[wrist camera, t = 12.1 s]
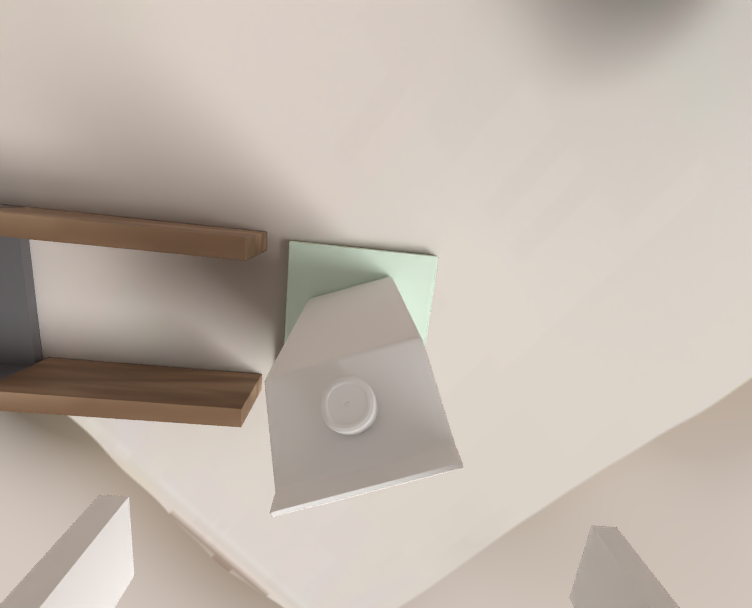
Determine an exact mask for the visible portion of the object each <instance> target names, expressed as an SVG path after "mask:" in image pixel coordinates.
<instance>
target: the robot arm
mask: <svg viewBox="0 0 752 608" xmlns="http://www.w3.org/2000/svg"><path fill="white" fill-rule="evenodd" d="M133 577H134V565H133V550H132V537H131V521H130V507H129V497H128V496H112V495H99V496H98V497H97V498H96V499H95V500H94V501H93V503H92V504H91V505H90V506H89V507H88V508H87V509H86V510H85V511H84V512H83V514H82V515H81V516H80V517H79V518H78V519H77V520H76V522H75V523H73V525H72V526H71V527H70V528H69V529H68V530H67V531H66V532H65V534H63V536H62V537H61V538H60V539H59V540H58V541H57V542H56V543H55V544H54V545H53V547H52V548H51V549H50V550H49V551H48V552H47V553H46V554H45V556H44V557H43V558H42V559H41V560H40V561H39V562H38V563H37V564H36V565H35V566H34V568H33V569H32V570H31V571H30V572H29V573H28V574H27V575H26V576H25V577H24V579H23V580H22V581H21V582H20V583H19V584H18V585H17V586H16V587H15V588H14V590H13V591H12V592H11V593H10V594H9V595H8V596H7V597H6V598H5V599H4V601H3V602H2V603H1V604H0V608H115V606H116V604H117V603H118V601H119V600H120V598H121V596H122V595H123V593H124V591H125V590H126V588H127V586H128V585H129V583H130V582H131V580H132V578H133ZM570 600H571V602H572V604H573V606H574V608H679V606H678V605H677V604H676V602H675V601H674V600H673V599H672V597H671V596H670V595H669V594H668V592H667V591H666V590H665V588H664V587H663V586H662V585H661V583H660V582H659V581H658V580H657V578H656V577H655V576H654V574H653V573H652V572H651V571H650V569H649V568H648V567H647V565H646V564H645V563H644V562H643V560H642V559H641V558H640V557H639V555H638V554H637V553H636V552H635V550H634V549H633V548H632V546H631V545H630V544H629V543H628V541H627V540H626V539H625V537H624V536H623V535H622V534H621V532H620V531H619V530H618V528H617V527H605V526H591V529H590V532H589V535H588V539H587V542H586V545H585V548H584V552H583V555H582V558H581V562H580V565H579V568H578V571H577V574H576V578H575V581H574V584H573V587H572V591H571V594H570Z"/></svg>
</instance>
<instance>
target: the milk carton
mask: <svg viewBox="0 0 752 608" xmlns="http://www.w3.org/2000/svg"><path fill="white" fill-rule="evenodd" d="M265 392H266V402H267V412H268V422H269V432H270V442H271V452H272V462H273V472H274V482H275V492H276V493H275V496H274V499H273V503H272V506H271V510H270V515H271V517H276V516H280V515H283V514H287V513H291V512H295V511H299V510H303V509H306V508H310V507H315V506H320V505H323V504H327V503H331V502H335V501H339V500H343V499H347V498H350V497H354V496H358V495H362V494H366V493H369V492H373V491H377V490H381V489H385V488H389V487H392V486H396V485H400V484H404V483H408V482H412V481H415V480H419V479H423V478H427V477H431V476H434V475H438V474H442V473H446V472H449V471H453V470H455V469H459V468H463V463H462V460H461V458H460V455H459V453H458V451H457V448H456V446H455V443H454V439H453V436H452V433H451V430H450V426H449V423H448V420H447V417H446V413H445V410H444V407H443V404H442V401H441V397H440V394H439V391H438V388H437V384H436V381H435V378H434V375H433V371H432V368H431V365H430V362H429V358H428V355H427V352H426V349H425V346H424V342H423V339H422V337H421V335H420V333H419V331H418V329H417V327H416V325H415V323H414V321H413V319H412V317H411V315H410V313H409V311H408V308H407V306H406V304H405V302H404V300H403V298H402V296H401V294H400V292H399V290H398V288H397V286H396V284H395V282H394V280H393V278H392V277H386V278H382V279H379V280H375V281H371V282H368V283H364V284H360V285H357V286H353V287H349V288H346V289H342V290H339V291H335V292H331V293H328V294H324V295H320V296H317V297H313V298H311V299H309V300H308V302H307V304H306V305H305V307H304V309H303V311H302V313H301V315H300V316H299V318H298V320H297V322H296V324H295V326H294V327H293V329H292V331H291V333H290V335H289V337H288V338H287V340H286V342H285V344H284V346H283V348H282V349H281V351H280V353H279V355H278V357H277V359H276V360H275V362H274V364H273V366H272V368H271V370H270V371H269V373H268V375H267V377H266V380H265Z"/></svg>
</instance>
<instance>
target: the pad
mask: <svg viewBox="0 0 752 608" xmlns="http://www.w3.org/2000/svg"><path fill="white" fill-rule="evenodd" d="M438 258H439V257H438V256H435V255H425V254H416V253H406V252H396V251H386V250H377V249H367V248H357V247H348V246H338V245H328V244H318V243H309V242H299V241H290V242H289V260H288V280H287V299H286V319H285V339H284V344H285V342H286V340H287V338H288V337H289V335H290V333H291V331H292V329H293V327H294V326H295V324H296V322H297V320H298V318H299V316H300V315H301V313H302V311H303V309H304V307H305V305H306V304H307V302H308V300H309V299H311V298H313V297H317V296H320V295H324V294H328V293H331V292H335V291H339V290H342V289H346V288H349V287H353V286H357V285H360V284H364V283H368V282H371V281H375V280H379V279H382V278H386V277H392V278H393V280H394V282H395V284H396V286H397V288H398V290H399V292H400V294H401V296H402V298H403V300H404V302H405V304H406V306H407V308H408V311H409V313H410V315H411V317H412V319H413V321H414V323H415V325H416V327H417V329H418V331H419V333H420V335H421V337H422V339H423V342H424V346H426V340H427V333H428V326H429V319H430V312H431V306H432V299H433V292H434V285H435V278H436V272H437V265H438Z"/></svg>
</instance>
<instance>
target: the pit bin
mask: <svg viewBox="0 0 752 608" xmlns="http://www.w3.org/2000/svg"><path fill="white" fill-rule="evenodd" d="M0 207H22V206H13V205H3V204H0ZM42 360H43V359H42V350H41V341H40V333H39V324H38V315H37V307H36V298H35V289H34V281H33V272H32V263H31V255H30V246H29V239H23V238H13V237H3V236H0V381H1V380H3V379H5V378H7V377H9V376H11V375H13V374H15V373H17V372H19V371H21V370H23V369H26V368H28V367H30V366H32V365H34V364H36V363H38V362H40V361H42Z"/></svg>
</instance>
